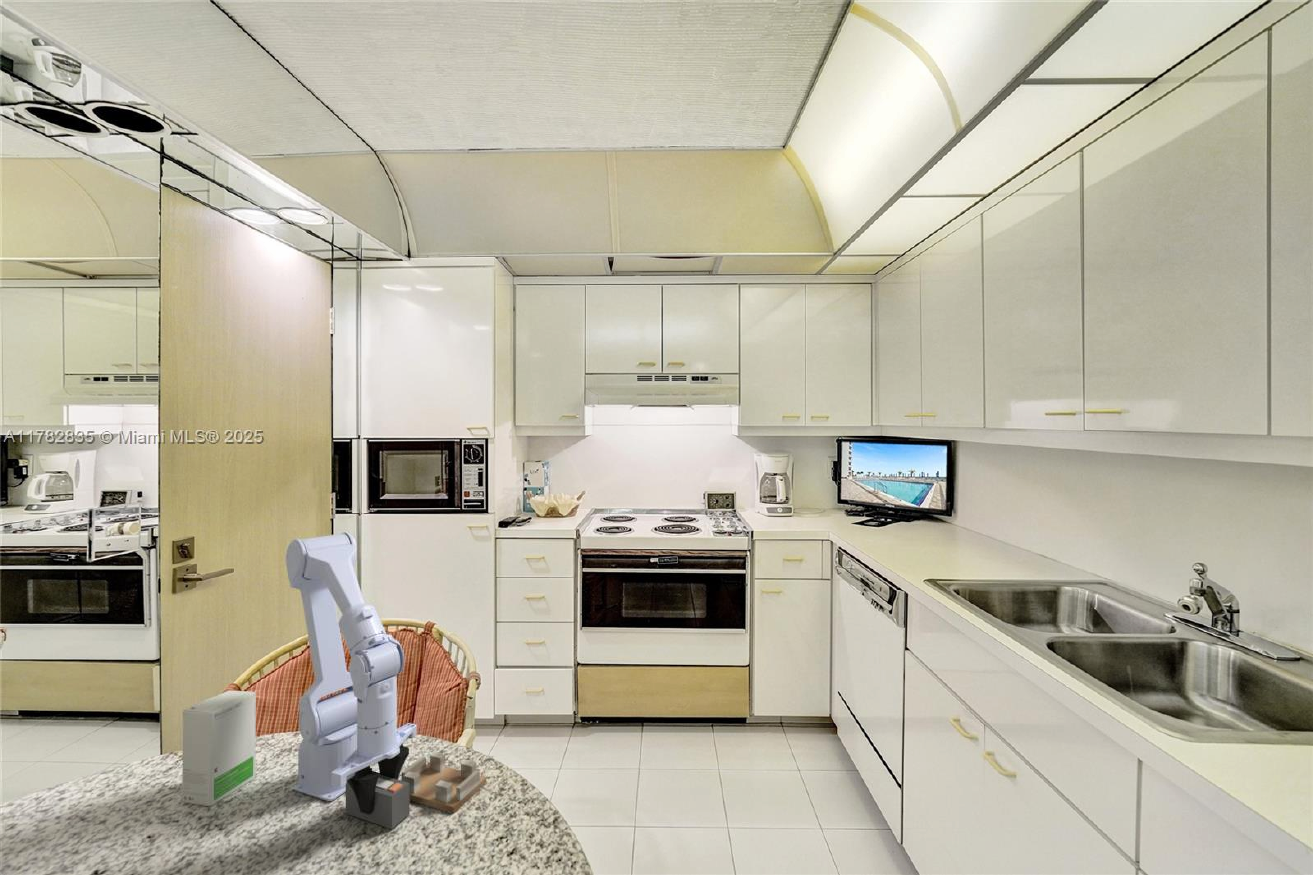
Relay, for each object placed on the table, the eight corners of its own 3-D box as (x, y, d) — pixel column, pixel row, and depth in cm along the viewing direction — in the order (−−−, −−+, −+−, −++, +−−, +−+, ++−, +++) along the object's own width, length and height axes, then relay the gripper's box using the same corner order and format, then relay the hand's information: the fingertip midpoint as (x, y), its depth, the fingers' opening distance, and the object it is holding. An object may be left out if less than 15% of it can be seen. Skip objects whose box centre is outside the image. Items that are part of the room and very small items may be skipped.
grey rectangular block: (345, 813, 83) (345, 781, 83) (364, 799, 86) (364, 768, 86) (392, 828, 80) (392, 795, 80) (409, 814, 83) (409, 781, 83)
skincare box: (209, 808, 85) (209, 714, 85) (178, 803, 86) (178, 711, 87) (258, 776, 93) (258, 690, 94) (228, 772, 95) (228, 687, 95)
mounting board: (393, 795, 88) (393, 774, 88) (429, 767, 95) (429, 748, 95) (453, 813, 83) (453, 792, 83) (486, 782, 91) (486, 763, 91)
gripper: (355, 749, 75) (355, 842, 75) (430, 702, 89) (430, 781, 88) (321, 740, 77) (321, 830, 77) (399, 695, 91) (399, 772, 91)
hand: (377, 803), depth 83 cm, fingers closed on grey rectangular block, 3 cm apart
